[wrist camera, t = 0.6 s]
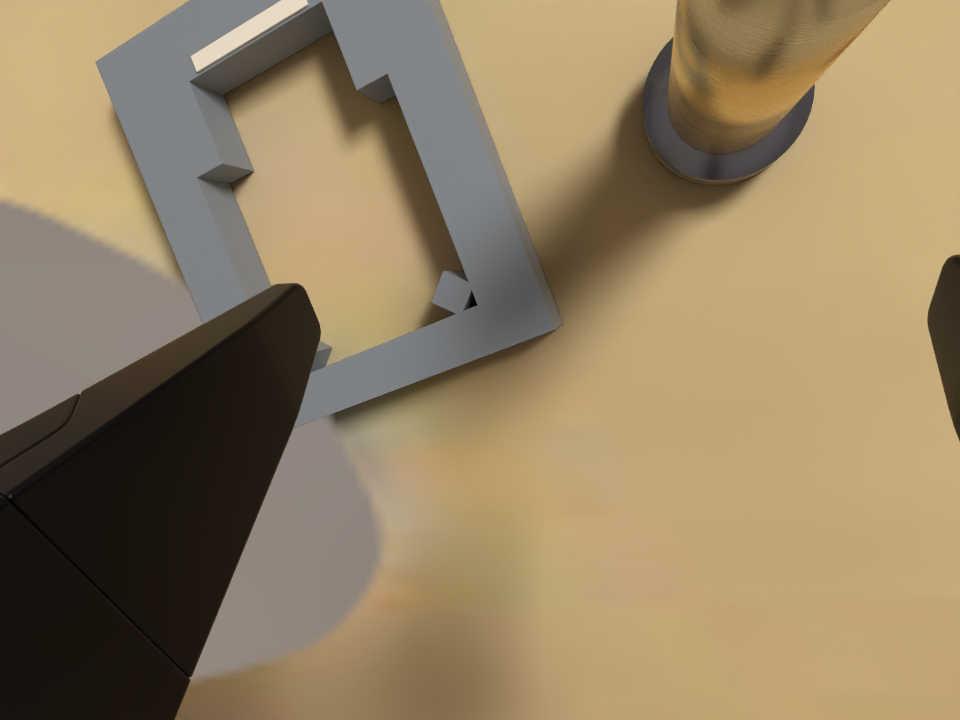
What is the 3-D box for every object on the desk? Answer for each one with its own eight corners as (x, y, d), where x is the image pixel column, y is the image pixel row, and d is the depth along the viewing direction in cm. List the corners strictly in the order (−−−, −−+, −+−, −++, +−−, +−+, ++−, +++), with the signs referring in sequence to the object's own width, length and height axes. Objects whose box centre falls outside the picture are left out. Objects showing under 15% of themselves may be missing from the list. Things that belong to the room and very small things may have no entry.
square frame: (563, 324, 24) (555, 329, 22) (279, 431, 27) (250, 444, 25) (403, -93, 23) (380, -127, 21) (135, 76, 27) (93, 61, 25)
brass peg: (747, 211, 22) (881, 139, 9) (616, 145, 22) (572, -5, 10) (835, 67, 20) (1129, -246, 8) (693, 2, 21) (754, -375, 9)
